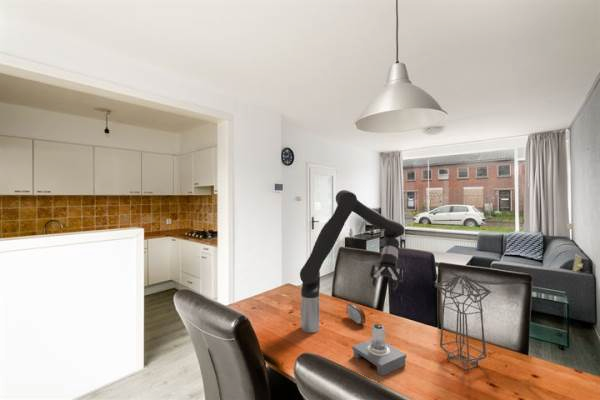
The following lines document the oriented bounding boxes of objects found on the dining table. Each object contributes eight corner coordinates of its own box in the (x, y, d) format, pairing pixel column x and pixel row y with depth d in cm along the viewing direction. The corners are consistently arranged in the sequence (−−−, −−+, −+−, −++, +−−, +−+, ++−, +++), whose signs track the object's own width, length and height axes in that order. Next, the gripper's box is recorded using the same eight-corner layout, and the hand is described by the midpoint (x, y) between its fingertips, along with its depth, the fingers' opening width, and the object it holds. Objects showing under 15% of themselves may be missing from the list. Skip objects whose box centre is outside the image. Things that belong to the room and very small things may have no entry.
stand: (352, 355, 114) (352, 345, 114) (376, 346, 121) (376, 336, 121) (381, 376, 100) (381, 364, 100) (406, 365, 107) (406, 353, 107)
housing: (366, 347, 112) (366, 324, 112) (378, 343, 115) (377, 321, 115) (378, 355, 106) (378, 331, 106) (390, 350, 109) (390, 327, 110)
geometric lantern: (432, 356, 113) (431, 272, 115) (459, 349, 119) (458, 269, 120) (467, 378, 99) (466, 281, 100) (496, 369, 104) (494, 277, 105)
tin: (366, 326, 141) (366, 310, 141) (361, 327, 140) (360, 311, 140) (350, 315, 155) (350, 300, 155) (345, 316, 154) (345, 301, 154)
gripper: (373, 251, 132) (366, 281, 122) (403, 254, 125) (399, 285, 115) (376, 260, 137) (370, 289, 127) (405, 263, 130) (402, 294, 120)
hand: (384, 287), depth 121 cm, fingers open, 8 cm apart
